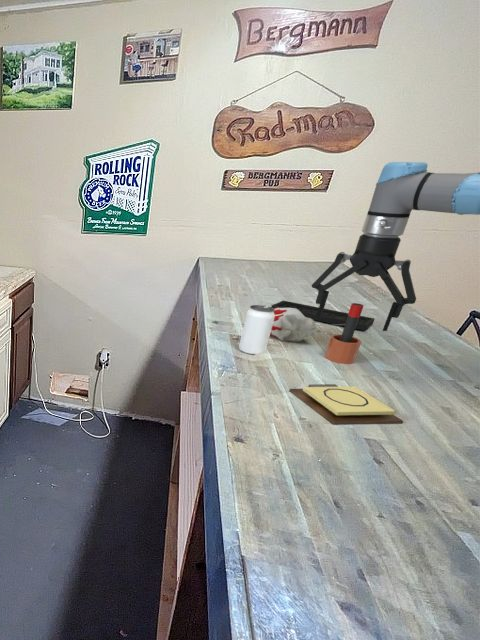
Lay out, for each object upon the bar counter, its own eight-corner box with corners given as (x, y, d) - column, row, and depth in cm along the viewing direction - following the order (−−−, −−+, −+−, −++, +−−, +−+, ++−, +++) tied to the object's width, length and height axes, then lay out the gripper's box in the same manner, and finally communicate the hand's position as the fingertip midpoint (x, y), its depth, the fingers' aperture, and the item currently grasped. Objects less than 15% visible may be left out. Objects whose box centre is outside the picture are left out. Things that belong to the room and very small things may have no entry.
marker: (347, 360, 116) (366, 305, 110) (338, 360, 116) (356, 306, 110) (340, 357, 118) (358, 303, 112) (331, 357, 118) (349, 303, 112)
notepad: (394, 414, 90) (395, 410, 90) (336, 415, 90) (338, 411, 89) (354, 389, 100) (355, 386, 99) (302, 390, 99) (303, 386, 99)
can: (233, 348, 124) (242, 306, 119) (248, 344, 127) (258, 303, 122) (254, 357, 119) (265, 313, 114) (270, 352, 122) (282, 309, 117)
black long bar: (379, 314, 146) (356, 332, 128) (376, 322, 148) (353, 342, 129) (289, 297, 164) (257, 311, 145) (287, 305, 165) (255, 320, 147)
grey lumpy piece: (314, 345, 125) (252, 345, 130) (303, 331, 135) (246, 331, 140) (318, 314, 122) (255, 314, 127) (307, 302, 131) (249, 303, 137)
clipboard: (402, 423, 89) (405, 416, 89) (333, 424, 89) (335, 417, 88) (350, 390, 102) (352, 383, 102) (289, 391, 102) (291, 384, 101)
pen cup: (359, 365, 114) (367, 343, 112) (335, 365, 114) (342, 343, 112) (342, 355, 120) (349, 334, 118) (318, 356, 120) (325, 334, 117)
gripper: (314, 230, 110) (290, 314, 118) (453, 244, 94) (414, 339, 103) (320, 227, 115) (297, 308, 123) (454, 240, 99) (417, 331, 108)
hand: (350, 323), depth 113 cm, fingers open, 13 cm apart
